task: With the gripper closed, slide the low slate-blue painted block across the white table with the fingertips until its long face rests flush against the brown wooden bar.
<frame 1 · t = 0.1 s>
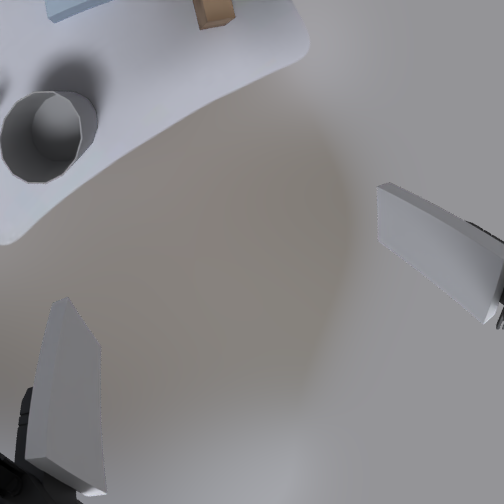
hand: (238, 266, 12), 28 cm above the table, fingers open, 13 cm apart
cup: (64, 126, 30), on the table
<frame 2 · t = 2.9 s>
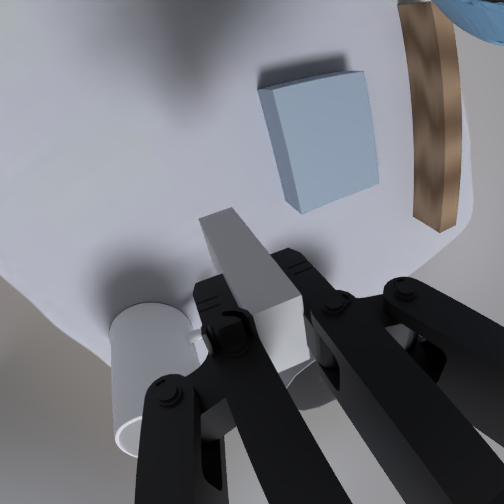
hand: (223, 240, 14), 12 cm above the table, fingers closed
block: (312, 133, 26), on the table
brown wooden bar: (421, 114, 28), on the table
mug: (164, 327, 30), on the table
cup: (282, 313, 34), on the table
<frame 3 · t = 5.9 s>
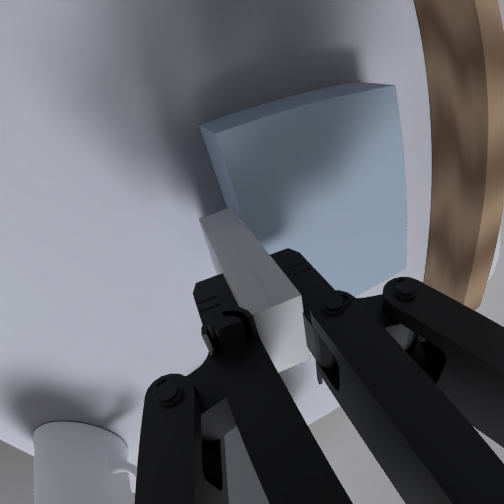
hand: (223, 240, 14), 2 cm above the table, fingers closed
block: (302, 191, 16), on the table
brown wooden bar: (445, 148, 18), on the table
mug: (92, 439, 20), on the table
cup: (238, 422, 24), on the table
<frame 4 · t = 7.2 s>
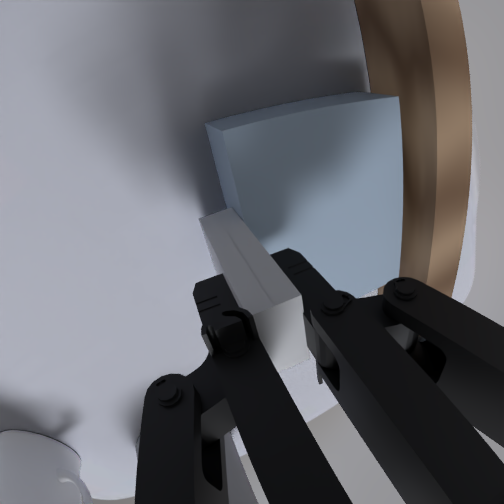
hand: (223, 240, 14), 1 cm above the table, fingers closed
block: (300, 196, 16), on the table
brown wooden bar: (396, 167, 17), on the table
mug: (48, 448, 19), on the table
cup: (183, 442, 23), on the table
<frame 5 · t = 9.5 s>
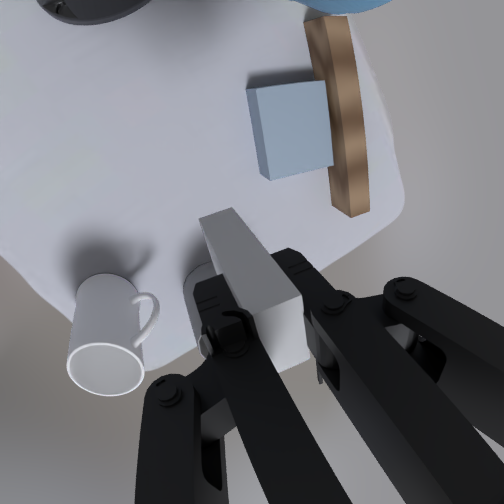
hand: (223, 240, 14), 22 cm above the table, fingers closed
block: (284, 125, 35), on the table
brown wooden bar: (331, 114, 36), on the table
mug: (117, 295, 38), on the table
cup: (214, 288, 42), on the table
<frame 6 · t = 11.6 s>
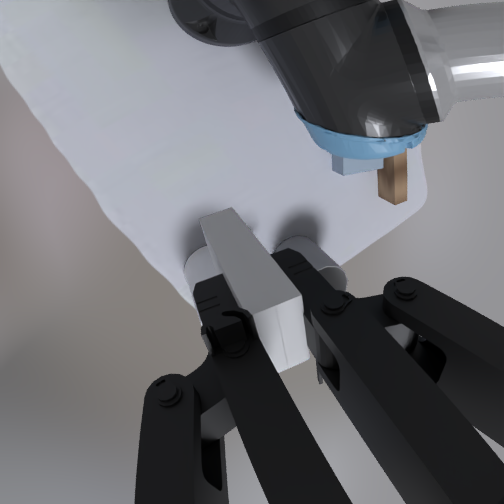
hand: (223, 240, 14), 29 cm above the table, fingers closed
block: (350, 136, 47), on the table
brown wooden bar: (381, 129, 47), on the table
mug: (220, 263, 50), on the table
cup: (293, 258, 54), on the table
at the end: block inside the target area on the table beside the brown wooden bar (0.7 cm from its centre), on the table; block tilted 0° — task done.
